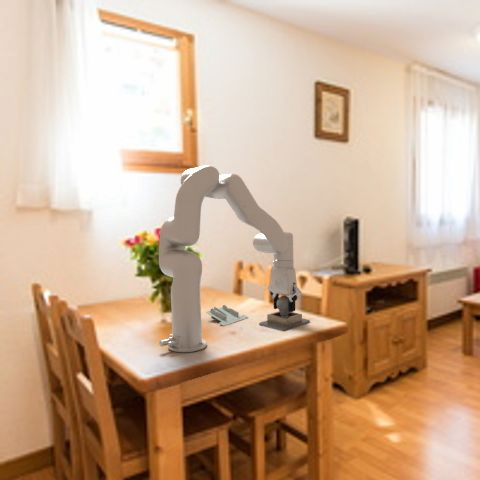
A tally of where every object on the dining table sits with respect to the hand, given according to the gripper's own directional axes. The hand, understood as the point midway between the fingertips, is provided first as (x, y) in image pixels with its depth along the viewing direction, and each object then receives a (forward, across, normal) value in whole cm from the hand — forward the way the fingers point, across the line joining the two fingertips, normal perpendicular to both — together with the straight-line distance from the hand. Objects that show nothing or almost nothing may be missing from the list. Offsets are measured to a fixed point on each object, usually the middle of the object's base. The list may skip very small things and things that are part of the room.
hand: (284, 309), depth 159 cm
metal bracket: (+6, -22, -12) cm, 25 cm away
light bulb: (+5, 0, 0) cm, 5 cm away
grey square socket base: (+5, 0, 0) cm, 5 cm away
